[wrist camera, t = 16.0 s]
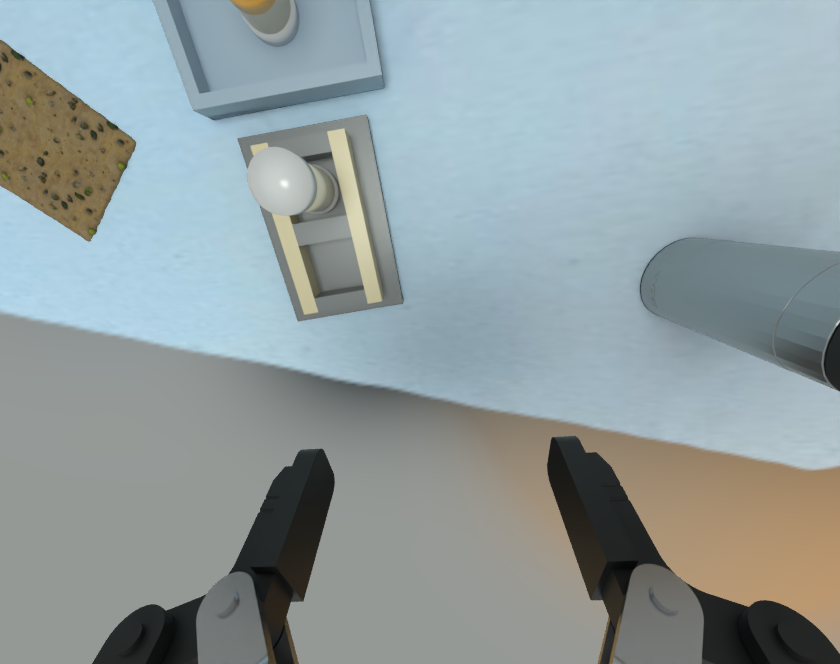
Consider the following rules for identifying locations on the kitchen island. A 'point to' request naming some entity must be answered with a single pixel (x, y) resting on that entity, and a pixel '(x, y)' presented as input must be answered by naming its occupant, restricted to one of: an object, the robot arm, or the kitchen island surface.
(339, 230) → the fuse holder
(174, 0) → the tray
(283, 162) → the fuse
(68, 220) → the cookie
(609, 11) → the kitchen island surface
